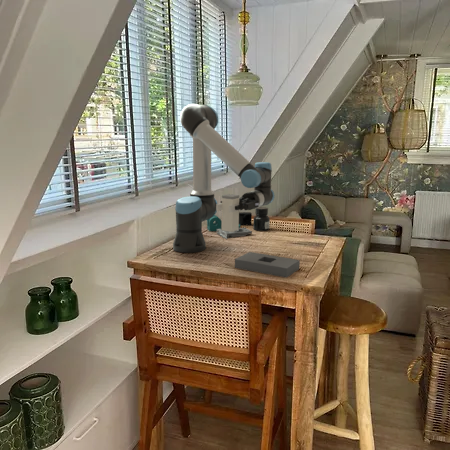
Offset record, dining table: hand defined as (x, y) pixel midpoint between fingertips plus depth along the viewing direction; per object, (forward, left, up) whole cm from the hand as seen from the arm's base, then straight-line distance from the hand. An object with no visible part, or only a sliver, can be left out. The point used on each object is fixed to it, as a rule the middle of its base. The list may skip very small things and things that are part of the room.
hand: (223, 208), depth 168 cm
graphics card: (-53, +4, -25) cm, 59 cm away
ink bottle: (-67, +18, -24) cm, 74 cm away
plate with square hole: (+4, +17, -24) cm, 30 cm away
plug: (-5, +2, -10) cm, 11 cm away
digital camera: (-79, +8, -24) cm, 83 cm away
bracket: (-67, -2, -24) cm, 72 cm away
